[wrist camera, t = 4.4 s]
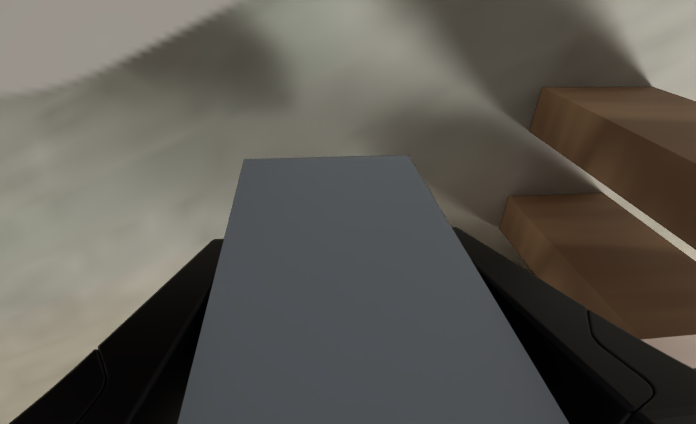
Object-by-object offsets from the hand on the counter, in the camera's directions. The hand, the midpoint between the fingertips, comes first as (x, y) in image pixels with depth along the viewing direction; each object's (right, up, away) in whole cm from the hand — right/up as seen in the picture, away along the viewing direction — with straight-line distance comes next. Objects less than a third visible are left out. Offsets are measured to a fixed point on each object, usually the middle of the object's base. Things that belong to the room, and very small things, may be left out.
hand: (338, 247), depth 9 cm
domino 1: (0, +2, +3) cm, 3 cm away
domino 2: (+10, +5, +7) cm, 13 cm away
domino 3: (+10, +1, +9) cm, 14 cm away
